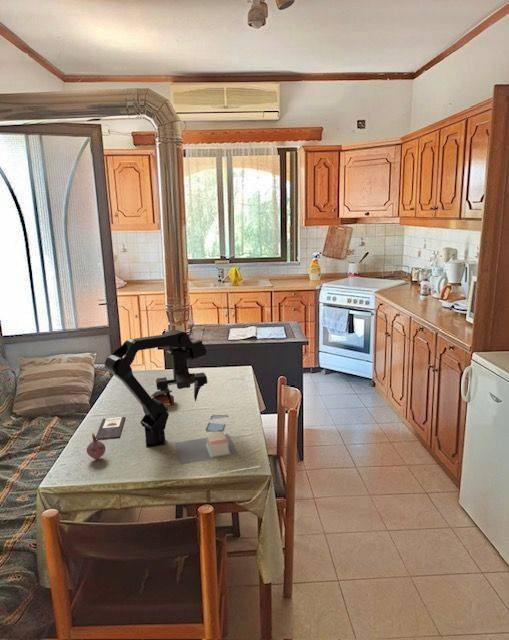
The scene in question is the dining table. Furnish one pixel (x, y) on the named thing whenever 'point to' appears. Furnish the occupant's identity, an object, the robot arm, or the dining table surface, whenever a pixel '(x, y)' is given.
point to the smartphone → (216, 427)
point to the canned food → (163, 398)
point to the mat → (200, 450)
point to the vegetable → (95, 448)
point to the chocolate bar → (110, 428)
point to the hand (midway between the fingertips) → (183, 402)
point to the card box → (217, 444)
